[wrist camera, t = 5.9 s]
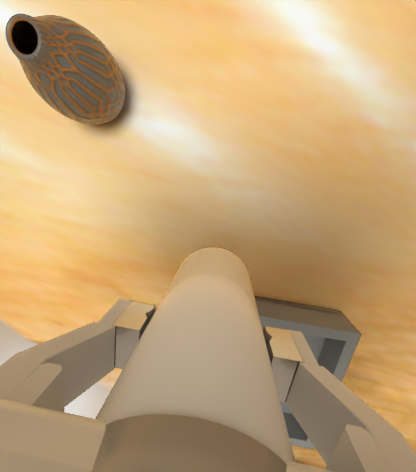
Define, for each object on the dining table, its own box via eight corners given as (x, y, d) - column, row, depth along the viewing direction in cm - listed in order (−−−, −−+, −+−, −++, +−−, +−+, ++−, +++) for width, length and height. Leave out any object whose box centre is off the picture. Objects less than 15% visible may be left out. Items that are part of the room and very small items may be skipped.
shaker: (257, 253, 12) (538, 881, 1) (242, 319, 13) (314, 922, 2) (181, 240, 12) (-164, 674, 1) (173, 306, 13) (-43, 808, 3)
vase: (148, 102, 21) (97, 47, 12) (102, 145, 22) (28, 121, 14) (104, 39, 20) (15, -69, 11) (58, 89, 21) (-51, 26, 13)
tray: (340, 311, 25) (361, 334, 21) (301, 414, 30) (313, 449, 26) (199, 286, 26) (194, 304, 22) (182, 392, 30) (176, 422, 26)
